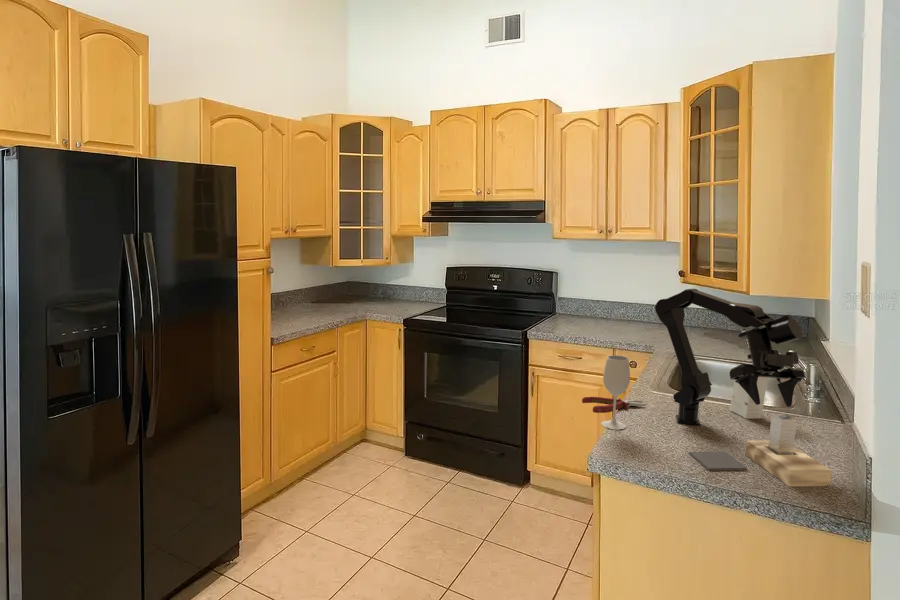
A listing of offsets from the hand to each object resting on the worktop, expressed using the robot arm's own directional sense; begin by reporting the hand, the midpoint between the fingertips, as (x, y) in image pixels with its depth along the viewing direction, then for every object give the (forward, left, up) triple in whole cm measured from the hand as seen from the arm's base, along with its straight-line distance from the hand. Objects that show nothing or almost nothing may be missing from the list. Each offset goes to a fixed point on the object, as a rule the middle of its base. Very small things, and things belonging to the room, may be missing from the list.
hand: (773, 405), depth 150 cm
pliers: (-26, -40, -15) cm, 50 cm away
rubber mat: (+9, -14, -14) cm, 21 cm away
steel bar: (+6, +1, -14) cm, 15 cm away
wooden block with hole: (+8, +2, -14) cm, 16 cm away
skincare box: (-34, +1, -14) cm, 37 cm away
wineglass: (-9, -40, -14) cm, 43 cm away
